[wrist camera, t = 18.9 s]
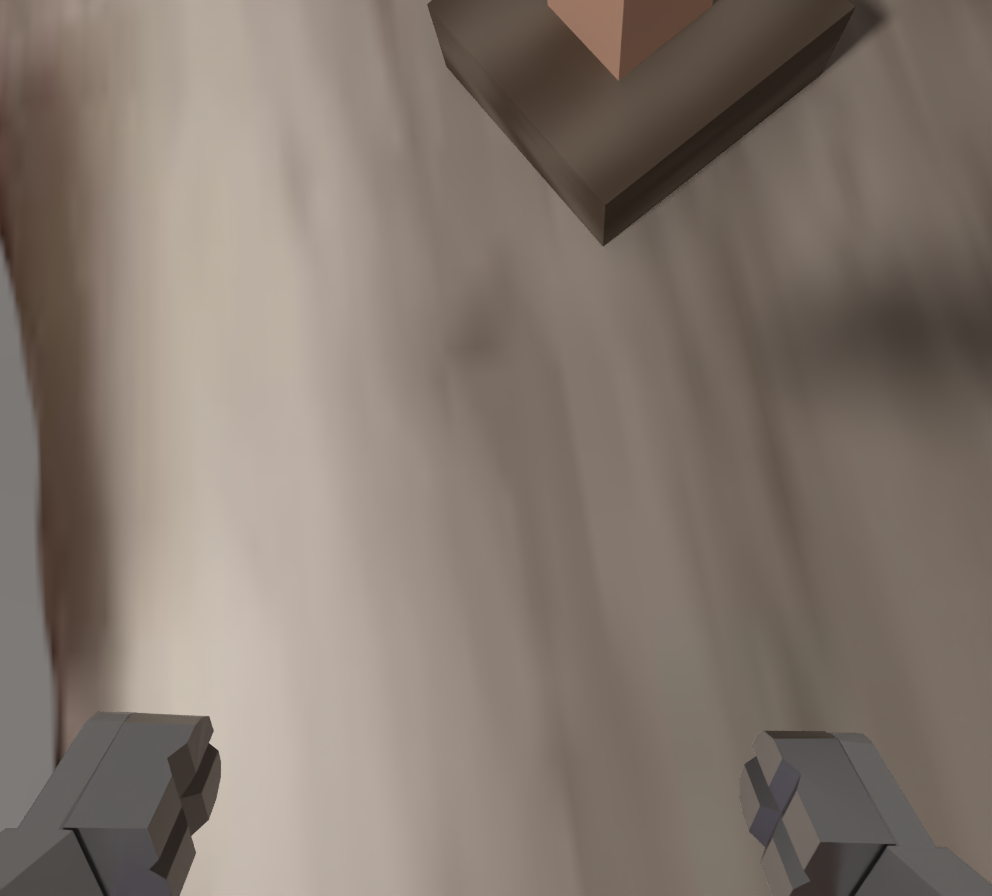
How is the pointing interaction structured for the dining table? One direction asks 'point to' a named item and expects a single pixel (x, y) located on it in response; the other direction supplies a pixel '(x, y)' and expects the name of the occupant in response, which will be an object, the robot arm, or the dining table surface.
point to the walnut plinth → (632, 92)
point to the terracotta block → (626, 27)
